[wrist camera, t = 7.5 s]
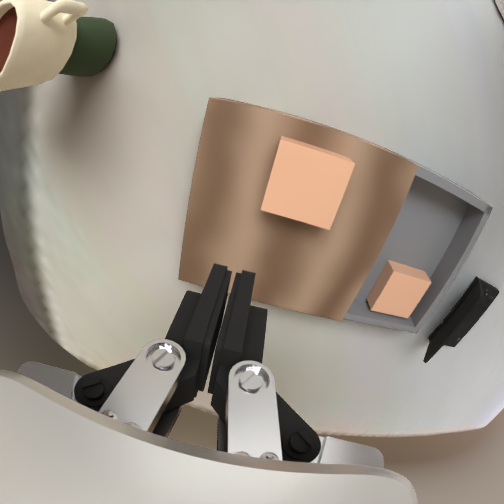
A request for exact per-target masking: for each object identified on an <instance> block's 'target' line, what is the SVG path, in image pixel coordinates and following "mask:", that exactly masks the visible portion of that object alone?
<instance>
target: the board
mask: <svg viewBox="0 0 504 504" xmlns="http://www.w3.org/2000/svg"><path fill="white" fill-rule="evenodd" d="M281 136H284V137H287V138H291V139H294V140H297V141H301V142H304V143H307V144H310V145H313V146H317V147H320V148H323V149H326V150H329V151H332V152H334V153H337V154H340V155H343V156H346V157H348V158H350V159H351V160H352V161H353V162H354V163H355V166H354V168H353V171H352V174H351V177H350V179H349V182H348V185H347V187H346V190H345V192H344V195H343V198H342V200H341V203H340V205H339V208H338V210H337V213H336V216H335V218H334V220H333V223H332V225H331V228H330V230H328V229H324V228H321V227H318V226H314V225H311V224H308V223H304V222H301V221H298V220H294V219H291V218H287V217H284V216H280V215H277V214H273V213H270V212H266V211H262V210H261V205H262V201H263V197H264V194H265V190H266V187H267V183H268V180H269V176H270V173H271V169H272V166H273V162H274V159H275V155H276V152H277V148H278V145H279V141H280V138H281ZM418 167H419V166H418V165H416V164H414V163H413V162H411V161H409V160H408V159H406V158H404V157H403V156H401V155H399V154H397V153H394V152H392V151H390V150H388V149H385V148H383V147H381V146H378V145H376V144H374V143H371V142H369V141H366V140H364V139H361V138H359V137H356V136H353V135H351V134H348V133H345V132H343V131H340V130H337V129H334V128H331V127H329V126H326V125H323V124H320V123H317V122H314V121H310V120H307V119H304V118H301V117H297V116H294V115H291V114H287V113H283V112H280V111H276V110H272V109H269V108H265V107H261V106H257V105H252V104H248V103H244V102H239V101H234V100H230V99H225V98H209V101H208V105H207V109H206V114H205V118H204V123H203V128H202V132H201V137H200V142H199V147H198V152H197V157H196V163H195V168H194V174H193V179H192V185H191V191H190V197H189V203H188V210H187V216H186V223H185V230H184V237H183V245H182V252H181V260H180V269H179V278H178V279H179V280H182V281H186V282H189V283H193V284H196V285H200V286H203V287H205V284H206V282H207V279H208V277H209V274H210V272H211V269H212V267H213V265H214V263H216V264H220V265H224V266H228V268H227V270H229V271H232V274H231V279H230V284H229V289H228V294H230V293H231V289H232V286H233V282H234V278H235V275H236V272H238V273H242V270H245V271H249V272H254V273H256V275H255V281H254V286H253V292H252V298H251V300H254V301H258V302H262V303H266V304H270V305H274V306H278V307H282V308H286V309H290V310H294V311H298V312H303V313H307V314H311V315H315V316H320V317H324V318H328V319H333V320H337V321H342V319H343V318H344V316H345V314H346V313H347V311H348V309H349V308H350V306H351V304H352V303H353V301H354V299H355V297H356V296H357V294H358V292H359V290H360V289H361V287H362V285H363V283H364V282H365V280H366V278H367V276H368V274H369V272H370V271H371V269H372V267H373V265H374V263H375V261H376V259H377V257H378V255H379V253H380V251H381V249H382V247H383V245H384V243H385V241H386V239H387V237H388V235H389V233H390V231H391V229H392V227H393V225H394V223H395V221H396V218H397V216H398V214H399V212H400V210H401V207H402V205H403V203H404V201H405V198H406V196H407V194H408V191H409V189H410V187H411V184H412V182H413V179H414V177H415V174H416V172H417V169H418Z"/></svg>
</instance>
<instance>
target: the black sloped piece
mask: <svg viewBox="0 0 504 504" xmlns="http://www.w3.org/2000/svg"><path fill="white" fill-rule="evenodd" d="M498 294H499V291H498V289H497V288H495V287H494V286H492V285H490V284H488V283H486V282H485V281H483V280H481V279H479V278H478V277H475V279H474V280H473V282H472V283H471V285H470V286H469V288H468V289H467V291H466V292H465V295H463V297H461V299H460V300H459V301H458V303H457V304H456V305H455V306H454V308H453V309H452V310H451V312H450V313H449V314H448V315H447V317H446V318H445V319H444V320H443V323H442V324H440V325H439V326H438V327H437V329H436V330H435V331H434V332H433V333H432V334H431V335H430V336H429V337H428V338H429V340H430V342H429V345H428V348H427V352H426V354H425V357H424V360H423V361H424V362H425V363H426V362H428V361H429V360H430V359H431V358H432V357H433V356H434V355H435V354H436V352H437V351H438V350H439V349H440V348H441V347H442V346H443V345H447V346H451V347H455V346H456V345H457V344H458V343H459V341H460V340H461V339H462V338H463V337H464V336H465V335H466V334H467V333H468V331H469V330H470V329H471V328H472V327H473V326H474V324H475V323H476V322H477V321H478V320H479V318H480V317H481V316H482V315H483V313H484V312H485V311H486V310H487V308H488V307H489V306H490V304H491V303H492V302H493V300H494V299H495V298H496V296H497V295H498Z"/></svg>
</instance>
